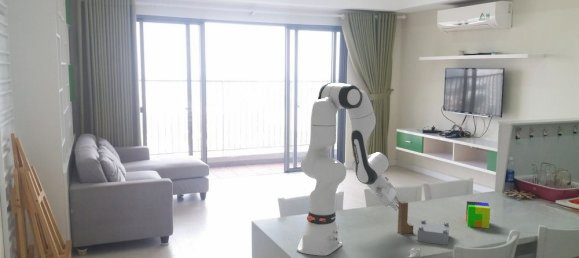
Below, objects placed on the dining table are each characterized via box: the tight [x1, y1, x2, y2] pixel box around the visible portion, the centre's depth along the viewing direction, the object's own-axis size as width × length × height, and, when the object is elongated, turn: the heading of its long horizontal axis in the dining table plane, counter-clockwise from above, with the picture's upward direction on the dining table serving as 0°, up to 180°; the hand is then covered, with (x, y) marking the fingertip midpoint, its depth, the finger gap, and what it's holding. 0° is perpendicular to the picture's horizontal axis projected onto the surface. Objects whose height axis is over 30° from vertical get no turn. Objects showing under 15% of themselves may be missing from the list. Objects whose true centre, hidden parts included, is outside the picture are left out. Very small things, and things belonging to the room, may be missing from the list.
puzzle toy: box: [465, 200, 491, 229], centre depth 241 cm, size 10×10×10 cm
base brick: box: [416, 219, 450, 246], centre depth 220 cm, size 13×13×6 cm
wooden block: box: [397, 200, 414, 235], centre depth 227 cm, size 7×3×15 cm, turn 106°
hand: (399, 206), depth 228 cm, fingers open, 8 cm apart
